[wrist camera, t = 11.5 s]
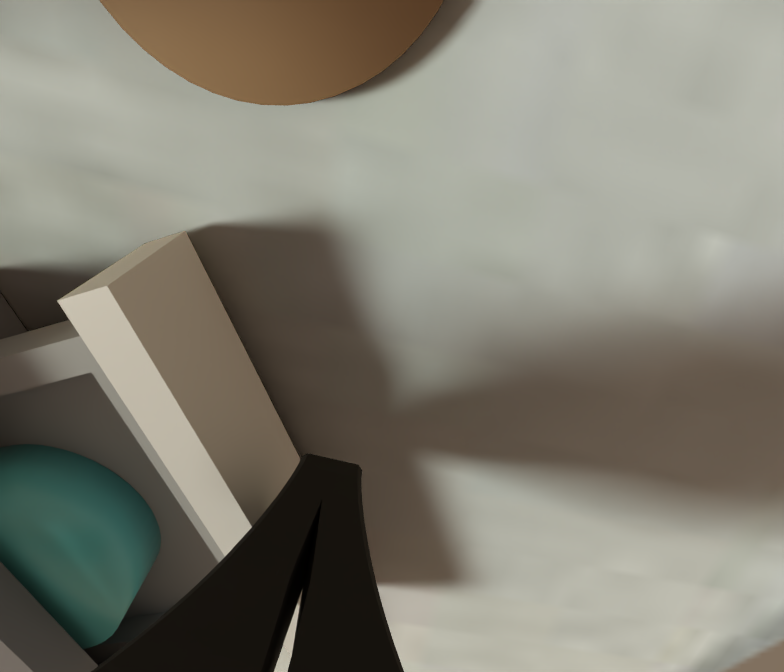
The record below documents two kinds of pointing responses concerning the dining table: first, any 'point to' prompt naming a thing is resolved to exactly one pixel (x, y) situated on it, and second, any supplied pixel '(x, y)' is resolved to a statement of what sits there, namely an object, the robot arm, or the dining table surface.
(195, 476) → the tray
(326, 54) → the stand
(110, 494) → the teal dome
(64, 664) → the grey drawer box
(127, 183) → the dining table surface
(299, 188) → the dining table surface
